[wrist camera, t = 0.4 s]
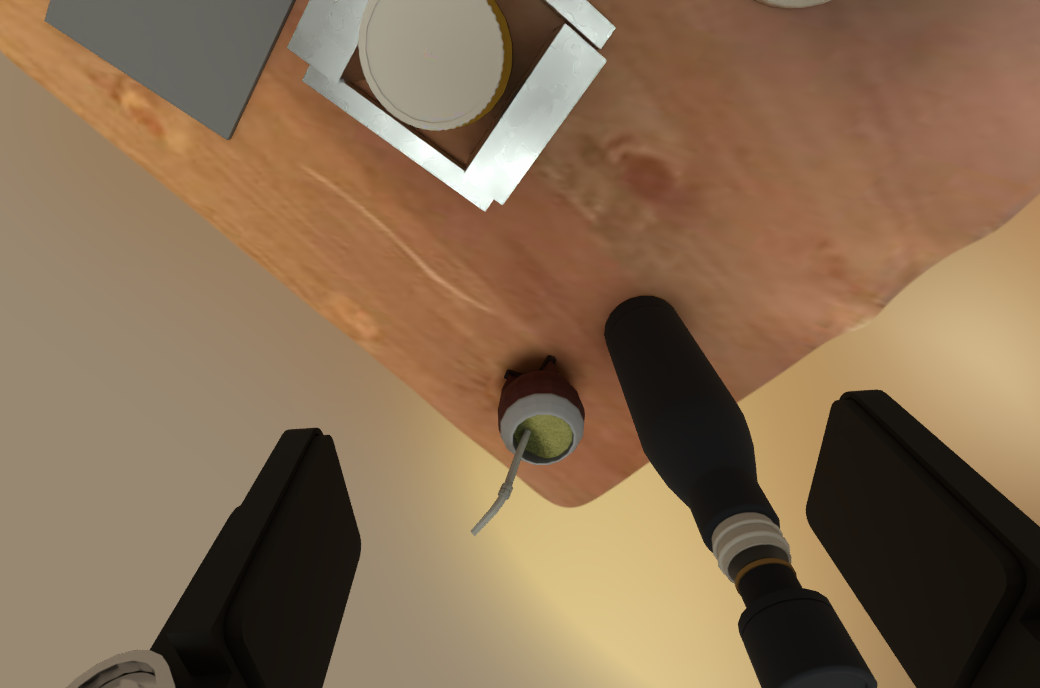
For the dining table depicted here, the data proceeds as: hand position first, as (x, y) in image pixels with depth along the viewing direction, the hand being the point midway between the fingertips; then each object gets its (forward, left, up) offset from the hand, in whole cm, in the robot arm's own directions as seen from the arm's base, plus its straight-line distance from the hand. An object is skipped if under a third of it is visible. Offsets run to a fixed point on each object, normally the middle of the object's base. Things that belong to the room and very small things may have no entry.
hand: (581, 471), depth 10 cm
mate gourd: (+15, +12, -33) cm, 38 cm away
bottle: (-3, -8, -33) cm, 34 cm away
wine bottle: (+5, +16, -33) cm, 37 cm away
